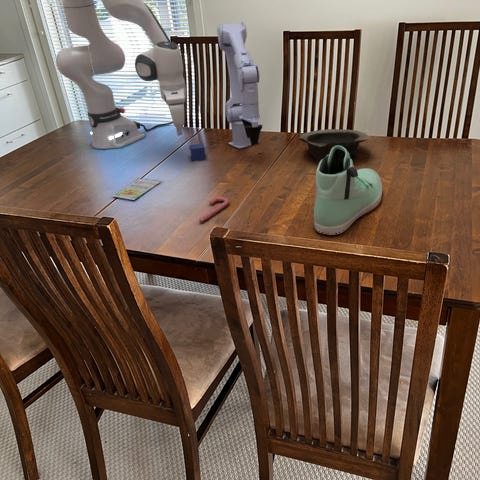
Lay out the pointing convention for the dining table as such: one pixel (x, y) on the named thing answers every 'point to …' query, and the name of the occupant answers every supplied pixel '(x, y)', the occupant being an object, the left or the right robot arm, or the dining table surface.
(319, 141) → the stone bowl
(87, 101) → the left robot arm
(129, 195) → the baking ingredient package
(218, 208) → the candy cane
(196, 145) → the cube
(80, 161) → the dining table surface
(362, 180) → the sneaker
